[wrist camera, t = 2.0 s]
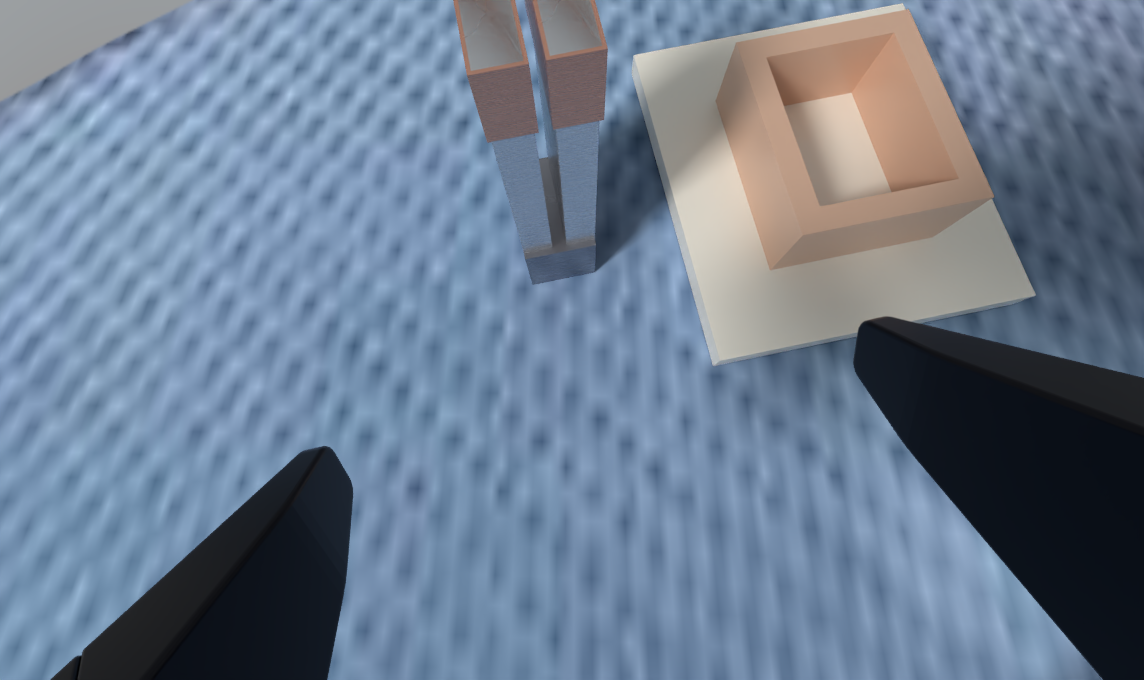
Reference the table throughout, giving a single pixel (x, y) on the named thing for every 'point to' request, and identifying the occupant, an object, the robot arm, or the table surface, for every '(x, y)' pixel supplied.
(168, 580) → the robot arm
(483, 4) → the slotted copper-topped post
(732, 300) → the holder
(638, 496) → the table surface
